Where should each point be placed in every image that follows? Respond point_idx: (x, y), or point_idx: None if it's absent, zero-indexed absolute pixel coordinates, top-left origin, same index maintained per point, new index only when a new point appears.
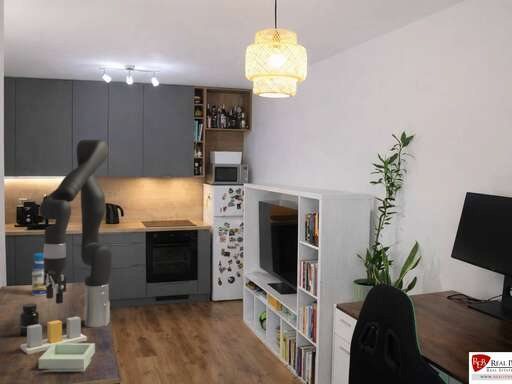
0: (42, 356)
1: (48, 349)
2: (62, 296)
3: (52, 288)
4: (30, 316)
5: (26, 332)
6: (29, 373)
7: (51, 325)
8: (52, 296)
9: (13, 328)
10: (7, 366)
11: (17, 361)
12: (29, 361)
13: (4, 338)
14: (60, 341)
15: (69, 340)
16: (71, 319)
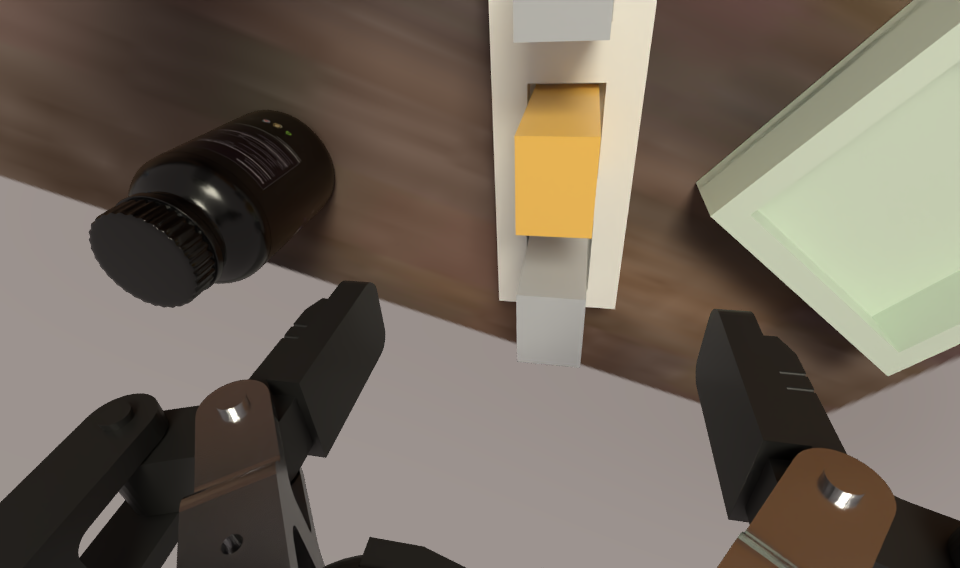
0: (870, 349)
1: (791, 282)
2: (823, 411)
3: (307, 388)
4: (261, 244)
5: (314, 211)
6: (829, 358)
7: (591, 227)
8: (365, 296)
9: (126, 180)
10: (656, 379)
11: (631, 336)
12: (678, 304)
13: (277, 265)
14: (608, 105)
15: (638, 36)
16: (585, 9)
